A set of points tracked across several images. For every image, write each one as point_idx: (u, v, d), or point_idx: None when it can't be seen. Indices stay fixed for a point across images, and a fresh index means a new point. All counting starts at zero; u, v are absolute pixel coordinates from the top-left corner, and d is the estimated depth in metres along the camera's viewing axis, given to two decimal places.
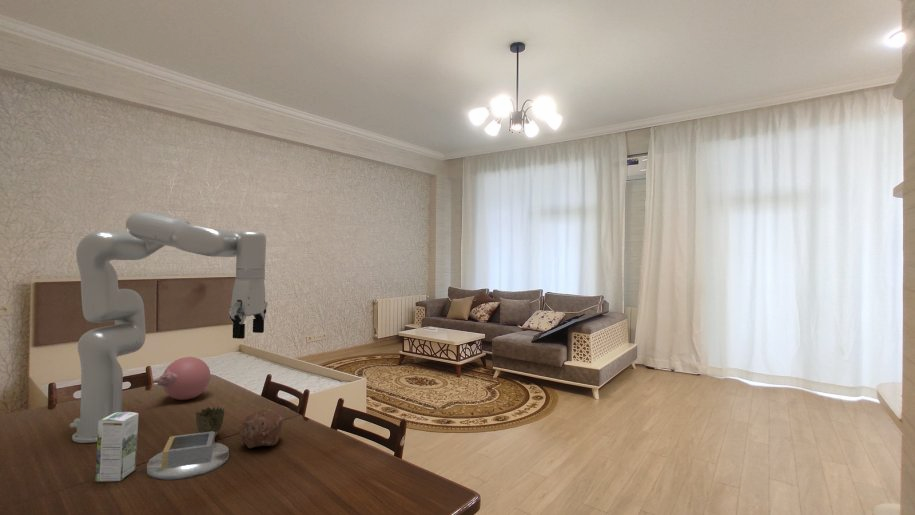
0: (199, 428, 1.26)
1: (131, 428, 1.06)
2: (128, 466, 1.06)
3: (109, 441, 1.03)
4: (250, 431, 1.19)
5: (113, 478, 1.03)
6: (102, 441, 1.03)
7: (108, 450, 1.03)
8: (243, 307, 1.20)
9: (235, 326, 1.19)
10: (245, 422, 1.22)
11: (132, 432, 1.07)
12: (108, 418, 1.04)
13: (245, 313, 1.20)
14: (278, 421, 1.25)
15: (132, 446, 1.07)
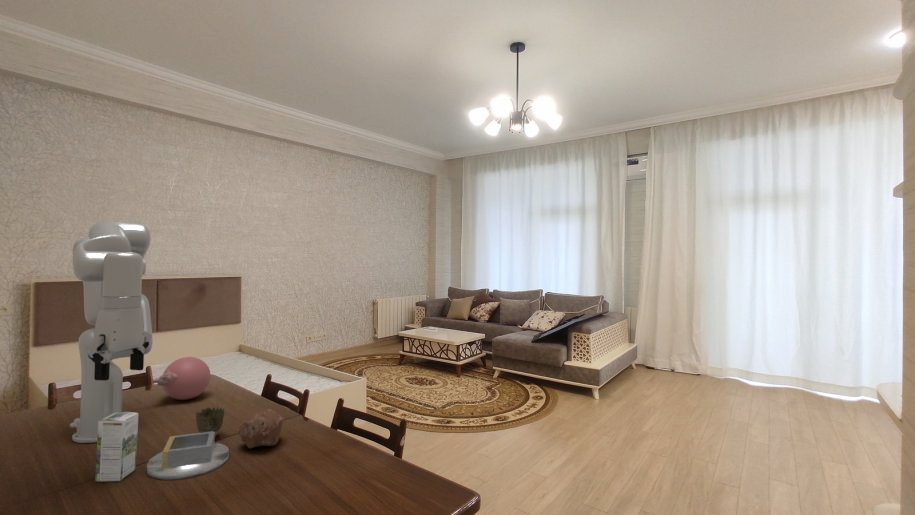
0: (199, 428, 1.26)
1: (131, 428, 1.06)
2: (128, 466, 1.06)
3: (109, 441, 1.03)
4: (250, 431, 1.19)
5: (113, 478, 1.03)
6: (102, 441, 1.03)
7: (108, 449, 1.03)
8: (107, 343, 1.01)
9: (96, 366, 1.00)
10: (245, 422, 1.22)
11: (132, 432, 1.07)
12: (108, 418, 1.04)
13: (109, 350, 1.01)
14: (278, 421, 1.25)
15: (132, 446, 1.07)
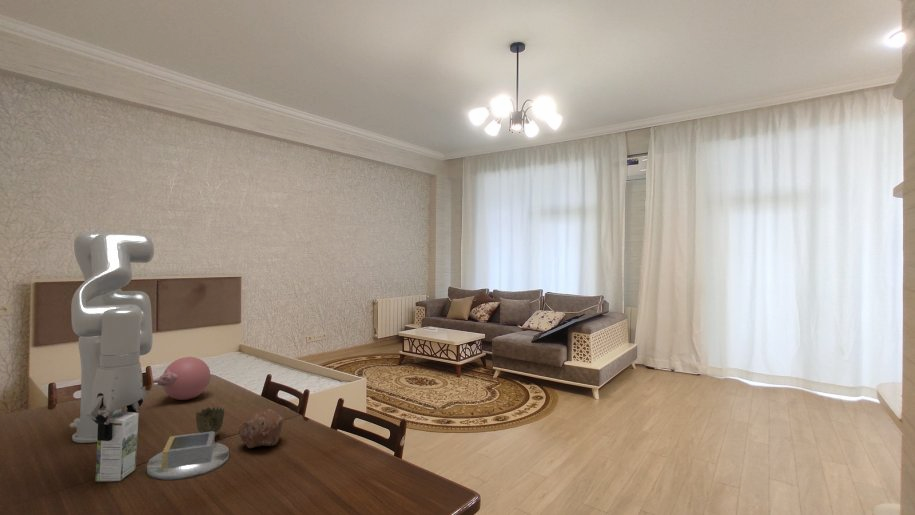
0: (199, 428, 1.26)
1: (131, 428, 1.06)
2: (128, 466, 1.06)
3: (109, 441, 1.03)
4: (250, 431, 1.19)
5: (113, 478, 1.03)
6: (102, 441, 1.03)
7: (109, 449, 1.03)
8: (105, 402, 1.01)
9: (99, 427, 1.01)
10: (245, 422, 1.22)
11: (132, 432, 1.07)
12: None
13: (107, 409, 1.01)
14: (278, 421, 1.25)
15: (132, 446, 1.07)
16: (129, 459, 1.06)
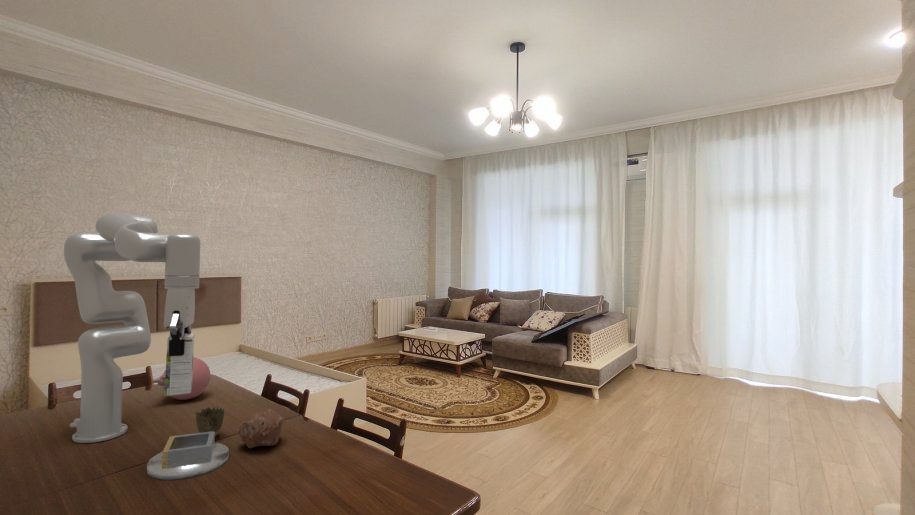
0: (199, 428, 1.26)
1: None
2: None
3: (179, 357, 1.10)
4: (250, 431, 1.19)
5: (183, 391, 1.10)
6: (172, 357, 1.09)
7: (179, 365, 1.10)
8: (181, 318, 1.08)
9: (174, 342, 1.08)
10: (245, 422, 1.22)
11: (193, 350, 1.14)
12: None
13: (184, 325, 1.08)
14: (278, 421, 1.25)
15: None
16: None
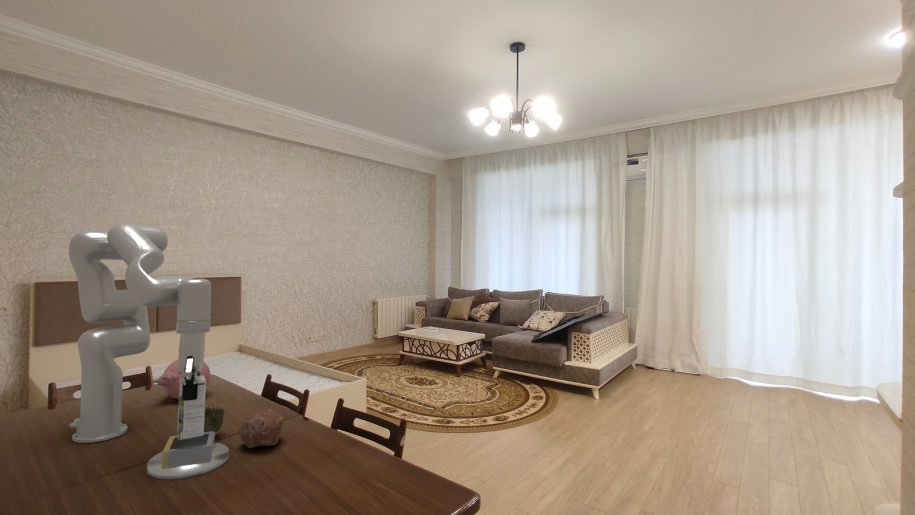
0: None
1: None
2: None
3: (192, 400, 1.11)
4: (250, 431, 1.19)
5: (196, 434, 1.12)
6: (185, 401, 1.10)
7: (192, 408, 1.11)
8: (195, 363, 1.10)
9: (187, 387, 1.09)
10: (245, 422, 1.22)
11: None
12: None
13: (197, 369, 1.10)
14: (278, 421, 1.25)
15: None
16: None
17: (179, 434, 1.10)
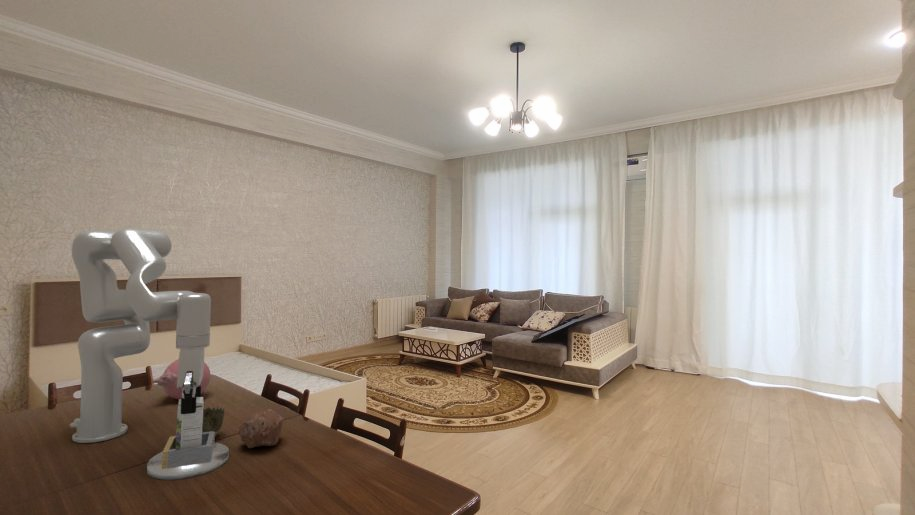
0: None
1: None
2: None
3: (190, 423, 1.11)
4: (250, 431, 1.19)
5: None
6: (182, 424, 1.10)
7: (189, 431, 1.11)
8: (195, 378, 1.10)
9: (186, 401, 1.08)
10: (245, 422, 1.22)
11: None
12: None
13: (197, 384, 1.10)
14: (278, 421, 1.25)
15: None
16: None
17: None
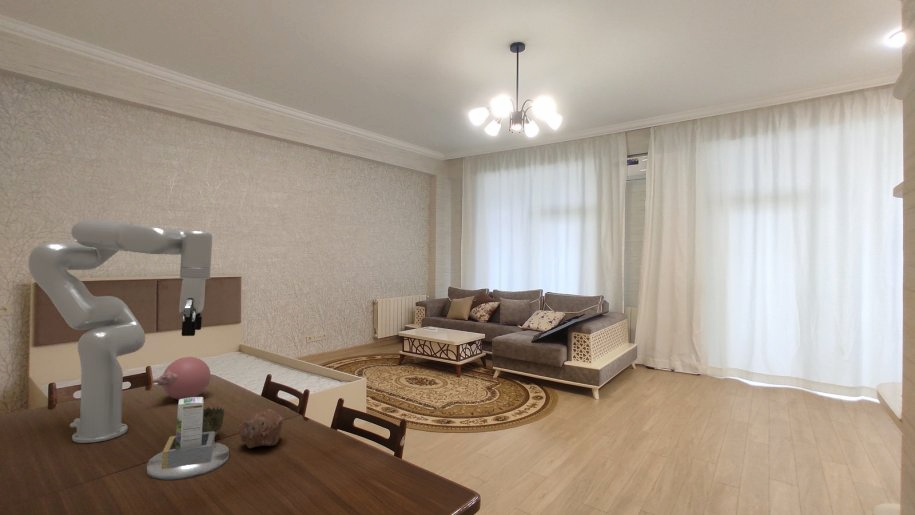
0: None
1: None
2: None
3: (190, 423, 1.11)
4: (250, 431, 1.19)
5: None
6: (182, 424, 1.10)
7: (189, 431, 1.11)
8: (195, 305, 1.23)
9: (186, 324, 1.21)
10: (245, 422, 1.22)
11: None
12: (185, 403, 1.12)
13: (196, 311, 1.23)
14: (278, 421, 1.25)
15: None
16: None
17: None
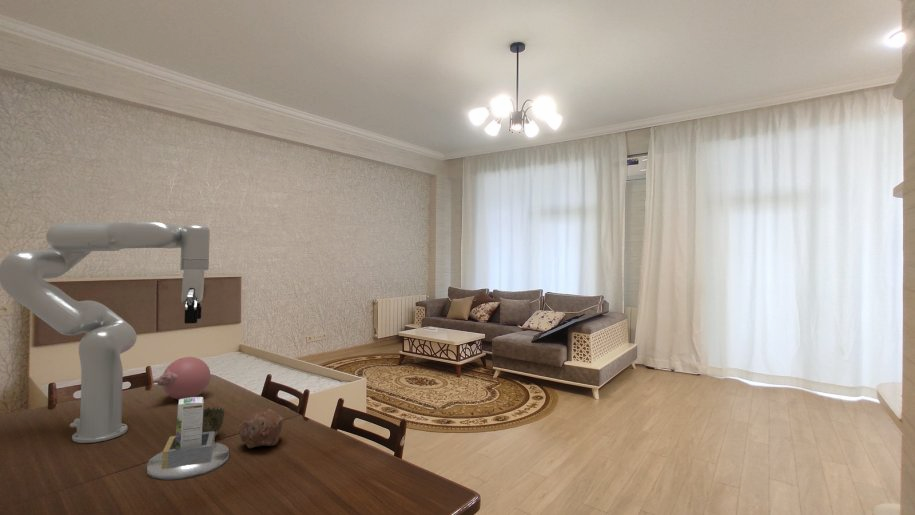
0: None
1: None
2: None
3: (190, 423, 1.11)
4: (250, 431, 1.19)
5: None
6: (182, 424, 1.10)
7: (189, 431, 1.11)
8: (196, 294, 1.31)
9: (189, 312, 1.30)
10: (245, 422, 1.22)
11: None
12: (185, 403, 1.12)
13: (198, 300, 1.32)
14: (278, 421, 1.25)
15: None
16: None
17: None
